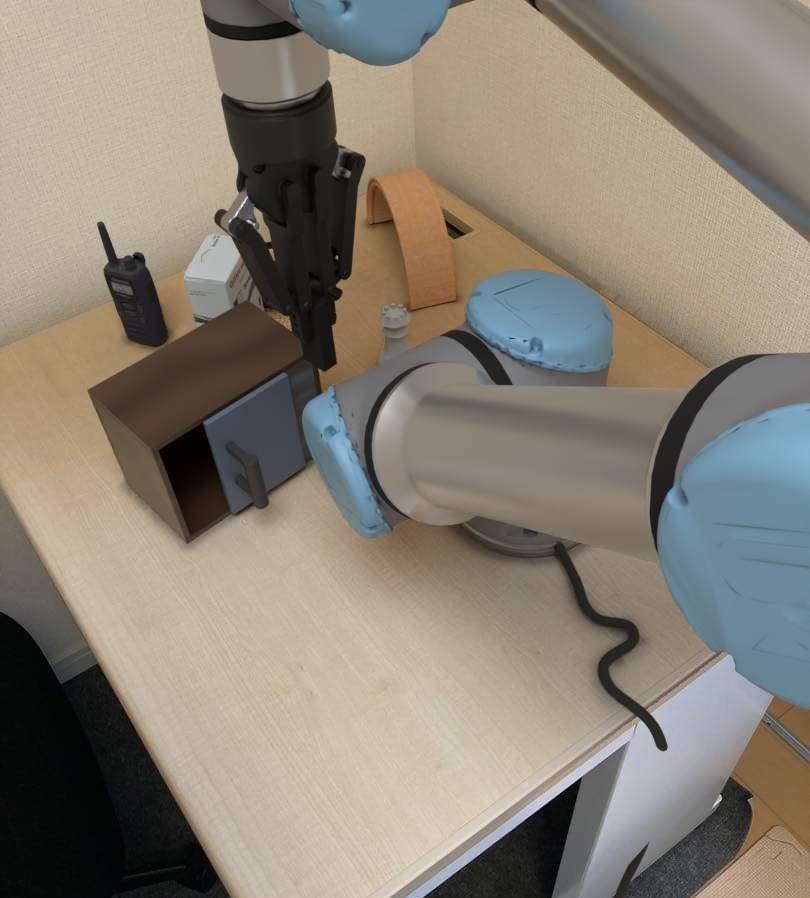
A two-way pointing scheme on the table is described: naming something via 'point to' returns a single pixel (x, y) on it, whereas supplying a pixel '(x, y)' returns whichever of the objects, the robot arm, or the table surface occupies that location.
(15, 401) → the table surface
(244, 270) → the ink box
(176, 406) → the cabinet
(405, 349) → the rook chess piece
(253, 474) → the sliding door
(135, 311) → the two-way radio
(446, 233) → the orange arch bridge
